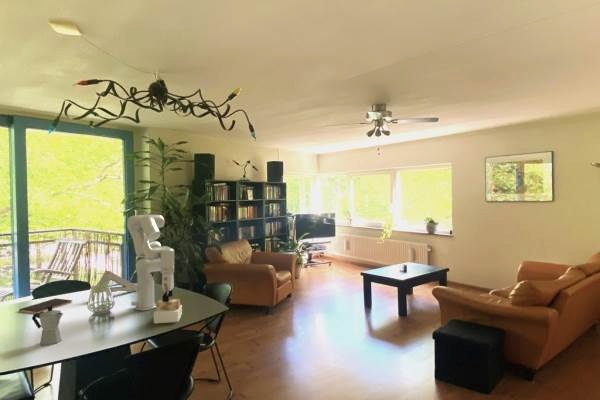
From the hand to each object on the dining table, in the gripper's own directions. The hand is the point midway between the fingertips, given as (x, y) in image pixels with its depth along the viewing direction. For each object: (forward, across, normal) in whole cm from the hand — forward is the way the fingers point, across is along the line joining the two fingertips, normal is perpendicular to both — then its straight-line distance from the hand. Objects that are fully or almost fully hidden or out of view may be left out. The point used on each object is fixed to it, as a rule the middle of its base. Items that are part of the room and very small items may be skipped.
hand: (167, 299), depth 202 cm
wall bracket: (+14, +54, +47) cm, 73 cm away
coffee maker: (+12, -24, +51) cm, 57 cm away
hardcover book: (+14, +36, +83) cm, 91 cm away
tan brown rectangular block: (+9, -1, 0) cm, 9 cm away
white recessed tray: (+11, -1, 0) cm, 11 cm away
